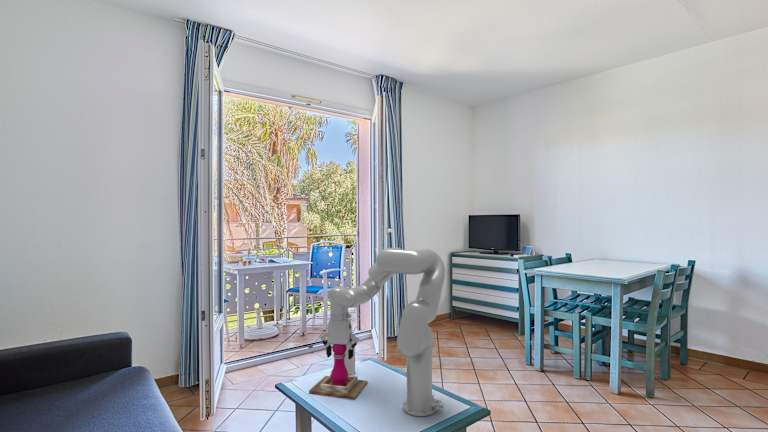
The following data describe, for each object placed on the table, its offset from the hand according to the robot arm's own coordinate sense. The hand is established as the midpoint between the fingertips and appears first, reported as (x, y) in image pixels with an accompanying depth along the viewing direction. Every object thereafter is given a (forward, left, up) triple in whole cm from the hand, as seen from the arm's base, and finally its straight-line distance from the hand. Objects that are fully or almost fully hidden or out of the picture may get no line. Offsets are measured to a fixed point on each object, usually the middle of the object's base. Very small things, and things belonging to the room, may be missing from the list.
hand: (339, 357), depth 166 cm
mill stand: (0, 0, -13) cm, 13 cm away
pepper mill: (0, 0, -12) cm, 12 cm away
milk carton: (+4, -16, -13) cm, 21 cm away
